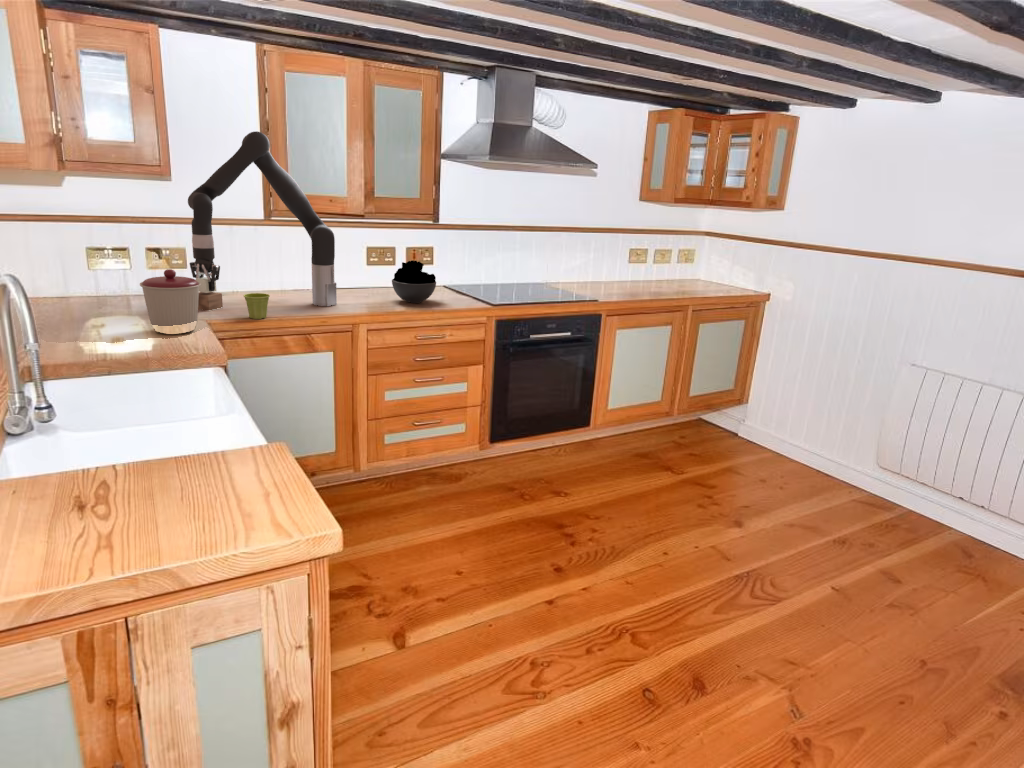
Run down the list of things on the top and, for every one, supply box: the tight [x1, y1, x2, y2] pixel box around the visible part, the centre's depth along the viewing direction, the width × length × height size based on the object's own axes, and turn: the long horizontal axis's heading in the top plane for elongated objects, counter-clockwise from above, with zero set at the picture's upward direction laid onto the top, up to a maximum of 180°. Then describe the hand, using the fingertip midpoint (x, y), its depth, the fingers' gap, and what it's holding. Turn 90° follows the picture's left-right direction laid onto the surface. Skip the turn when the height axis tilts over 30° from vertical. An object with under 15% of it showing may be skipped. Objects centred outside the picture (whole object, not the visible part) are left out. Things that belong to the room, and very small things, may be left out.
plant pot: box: [243, 292, 271, 320], centre depth 247 cm, size 9×9×9 cm
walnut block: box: [198, 291, 224, 311], centre depth 257 cm, size 8×8×6 cm
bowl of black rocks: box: [391, 260, 437, 304], centre depth 296 cm, size 20×20×19 cm
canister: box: [139, 268, 201, 326], centre depth 218 cm, size 18×18×21 cm
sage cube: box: [195, 276, 217, 293], centre depth 255 cm, size 5×5×5 cm
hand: (206, 289), depth 256 cm, fingers closed on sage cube, 5 cm apart
